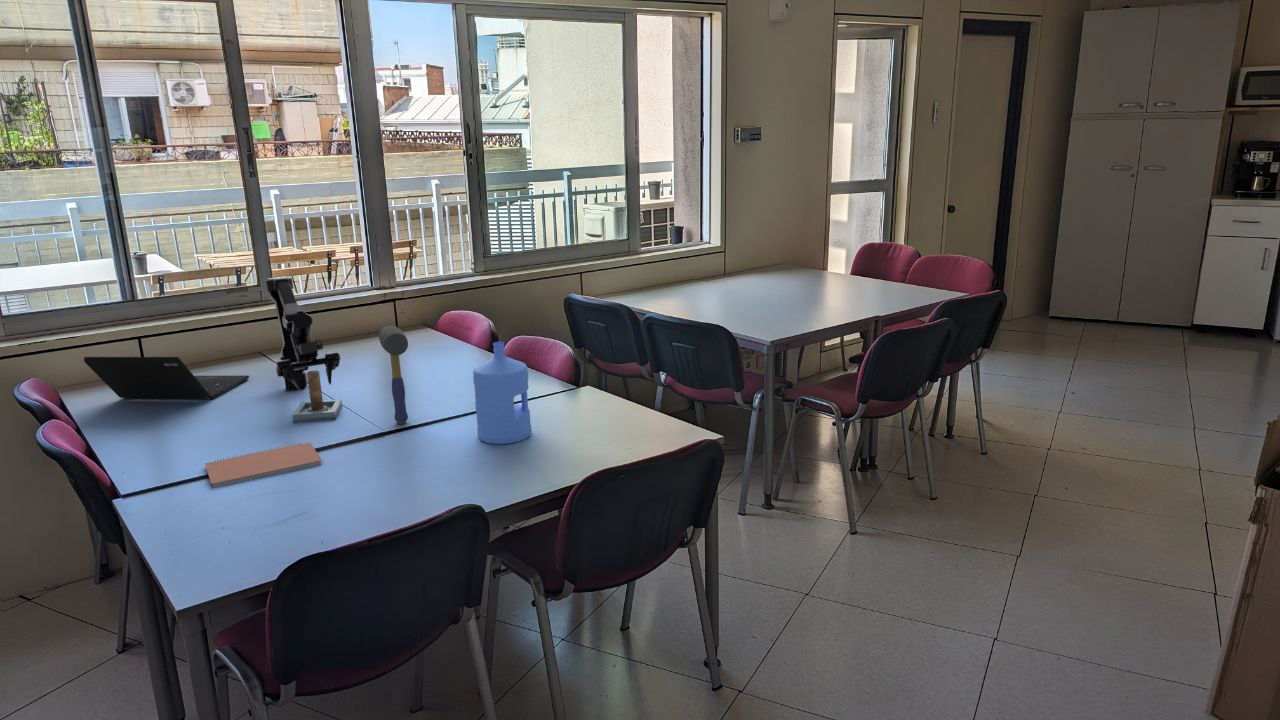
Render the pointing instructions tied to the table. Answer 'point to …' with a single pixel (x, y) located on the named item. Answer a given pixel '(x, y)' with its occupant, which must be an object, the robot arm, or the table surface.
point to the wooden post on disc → (315, 392)
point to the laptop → (158, 378)
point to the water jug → (501, 399)
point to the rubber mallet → (396, 367)
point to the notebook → (262, 464)
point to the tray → (305, 416)
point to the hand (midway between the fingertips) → (315, 386)
